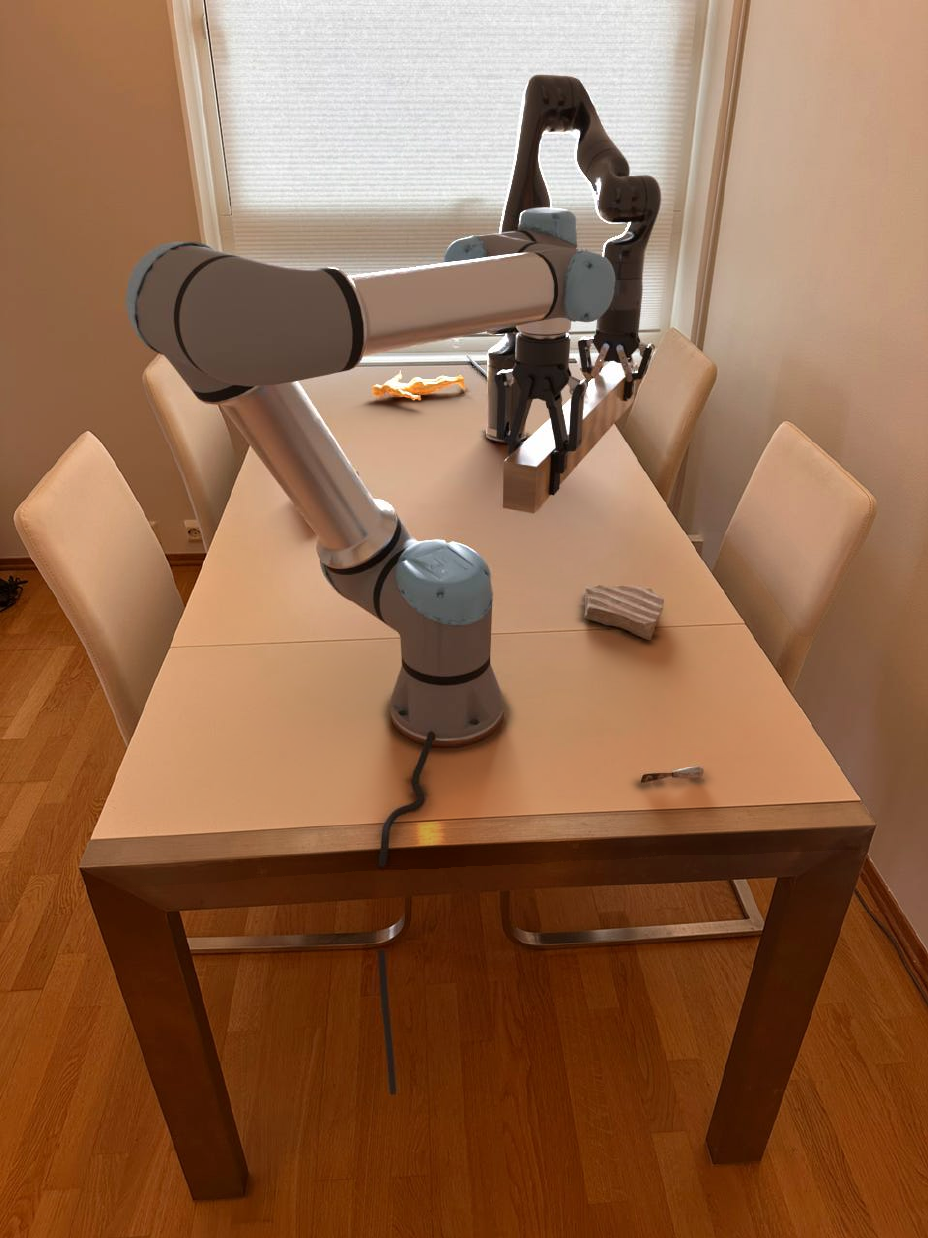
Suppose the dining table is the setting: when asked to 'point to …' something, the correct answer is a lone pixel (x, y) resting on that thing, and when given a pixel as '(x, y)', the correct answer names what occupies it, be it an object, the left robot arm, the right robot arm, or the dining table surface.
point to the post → (533, 458)
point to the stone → (624, 608)
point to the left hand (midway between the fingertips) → (536, 488)
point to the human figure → (415, 386)
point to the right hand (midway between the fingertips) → (611, 397)
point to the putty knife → (674, 774)
